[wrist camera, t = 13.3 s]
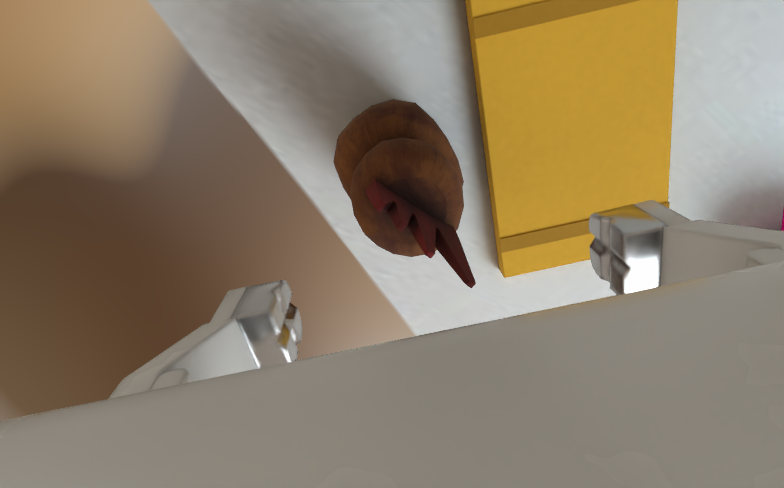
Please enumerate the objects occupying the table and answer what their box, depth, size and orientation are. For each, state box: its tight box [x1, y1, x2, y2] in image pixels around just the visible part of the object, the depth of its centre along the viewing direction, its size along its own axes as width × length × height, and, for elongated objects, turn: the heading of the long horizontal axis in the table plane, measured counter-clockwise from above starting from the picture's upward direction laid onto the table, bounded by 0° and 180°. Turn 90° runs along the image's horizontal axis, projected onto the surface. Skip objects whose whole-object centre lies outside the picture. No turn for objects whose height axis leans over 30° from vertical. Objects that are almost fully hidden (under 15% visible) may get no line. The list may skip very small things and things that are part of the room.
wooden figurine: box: [334, 99, 475, 288], centre depth 20 cm, size 7×6×15 cm
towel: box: [465, 0, 678, 278], centre depth 26 cm, size 11×18×1 cm, turn 12°
